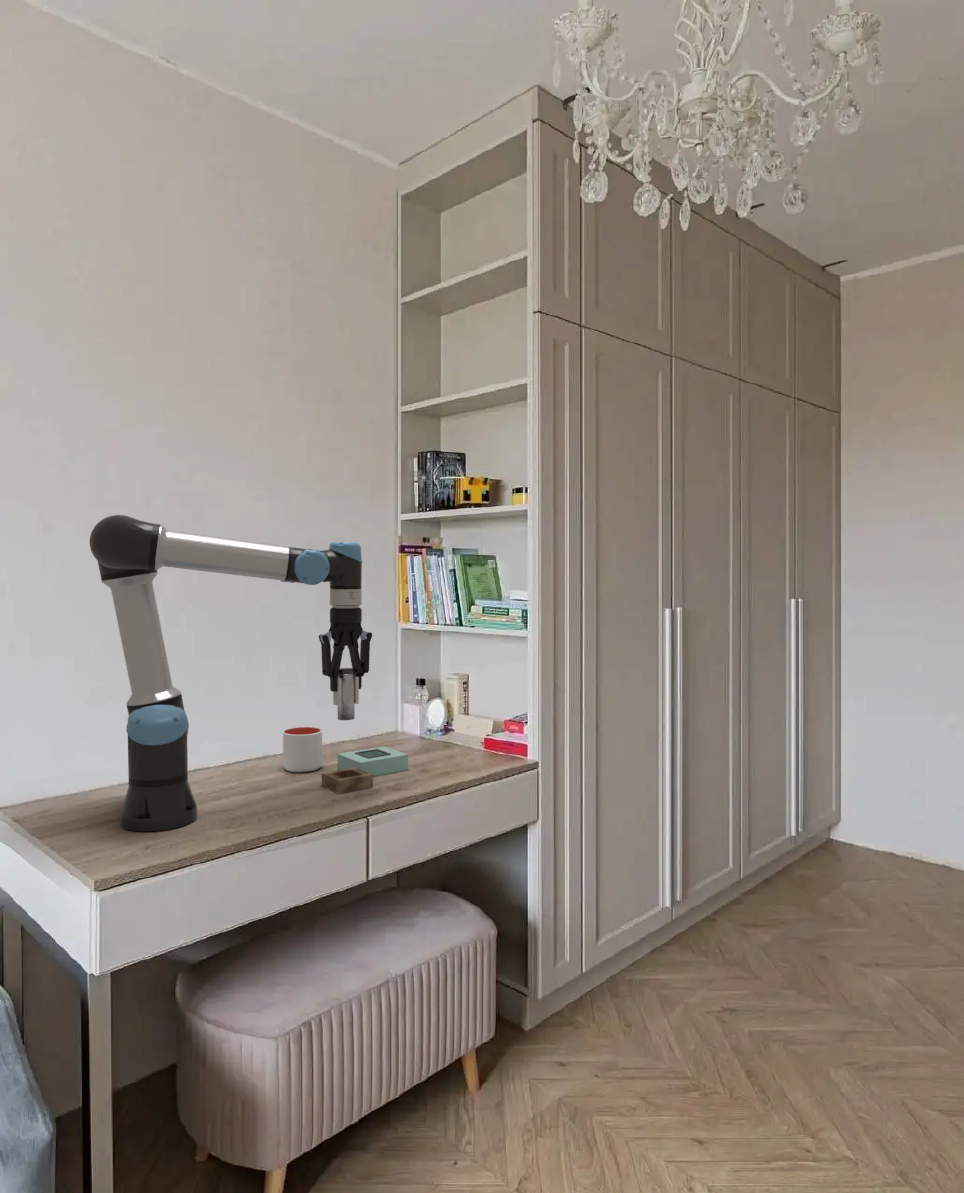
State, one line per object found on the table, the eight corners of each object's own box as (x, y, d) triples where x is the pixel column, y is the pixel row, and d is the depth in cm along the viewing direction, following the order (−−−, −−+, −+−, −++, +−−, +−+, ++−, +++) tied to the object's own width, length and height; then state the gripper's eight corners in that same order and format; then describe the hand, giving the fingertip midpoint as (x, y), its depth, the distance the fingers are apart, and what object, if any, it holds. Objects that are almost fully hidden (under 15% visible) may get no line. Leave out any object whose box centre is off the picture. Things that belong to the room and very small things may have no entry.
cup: (327, 764, 224) (326, 727, 224) (315, 774, 214) (315, 735, 214) (290, 763, 225) (290, 726, 225) (277, 773, 215) (277, 734, 215)
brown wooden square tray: (339, 793, 197) (339, 780, 196) (321, 785, 204) (321, 773, 204) (373, 787, 202) (372, 774, 202) (354, 779, 209) (354, 767, 209)
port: (360, 778, 210) (360, 761, 209) (337, 768, 219) (337, 752, 219) (408, 769, 218) (408, 753, 218) (384, 760, 228) (383, 745, 228)
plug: (342, 720, 199) (342, 670, 199) (334, 718, 202) (334, 668, 202) (357, 719, 202) (357, 669, 201) (349, 716, 205) (349, 667, 204)
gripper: (320, 608, 193) (321, 710, 194) (384, 606, 203) (384, 702, 204) (306, 607, 198) (306, 705, 200) (368, 604, 209) (368, 698, 210)
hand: (346, 703), depth 202 cm, fingers closed on plug, 4 cm apart
